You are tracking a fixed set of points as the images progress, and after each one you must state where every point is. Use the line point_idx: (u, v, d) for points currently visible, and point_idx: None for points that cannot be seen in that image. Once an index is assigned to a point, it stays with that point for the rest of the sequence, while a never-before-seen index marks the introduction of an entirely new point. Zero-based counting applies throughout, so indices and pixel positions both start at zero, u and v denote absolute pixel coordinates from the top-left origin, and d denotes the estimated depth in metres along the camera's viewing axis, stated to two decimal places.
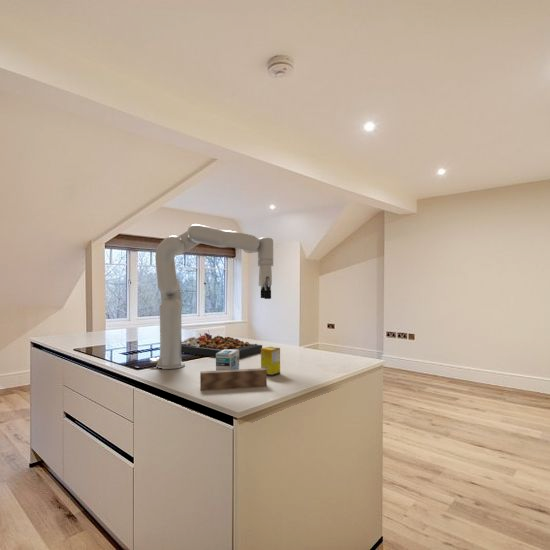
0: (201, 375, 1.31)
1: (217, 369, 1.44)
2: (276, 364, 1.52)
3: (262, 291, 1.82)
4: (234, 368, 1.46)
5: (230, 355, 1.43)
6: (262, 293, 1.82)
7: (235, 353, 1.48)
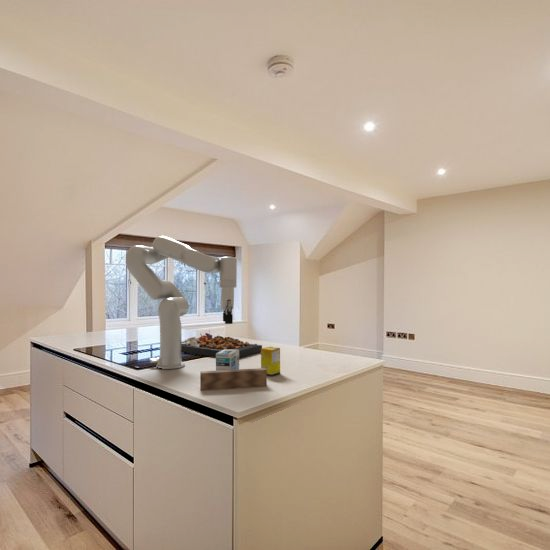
0: (201, 375, 1.31)
1: (217, 369, 1.44)
2: (276, 364, 1.52)
3: (224, 314, 1.68)
4: (234, 368, 1.46)
5: (230, 355, 1.43)
6: (224, 316, 1.68)
7: (235, 353, 1.48)
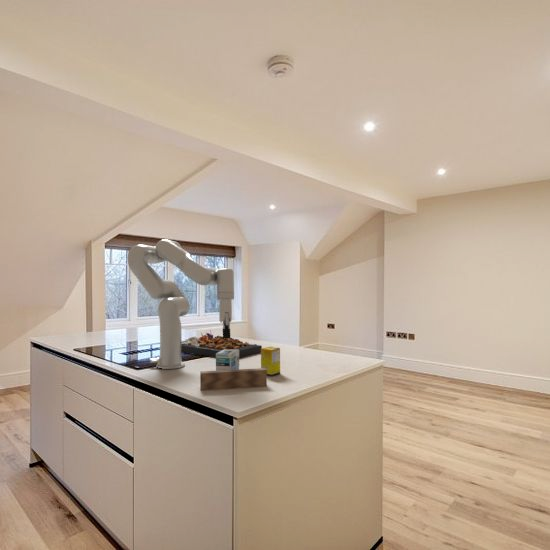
0: (201, 375, 1.31)
1: (217, 369, 1.44)
2: (276, 364, 1.52)
3: None
4: (234, 368, 1.46)
5: (230, 355, 1.43)
6: None
7: (235, 353, 1.48)
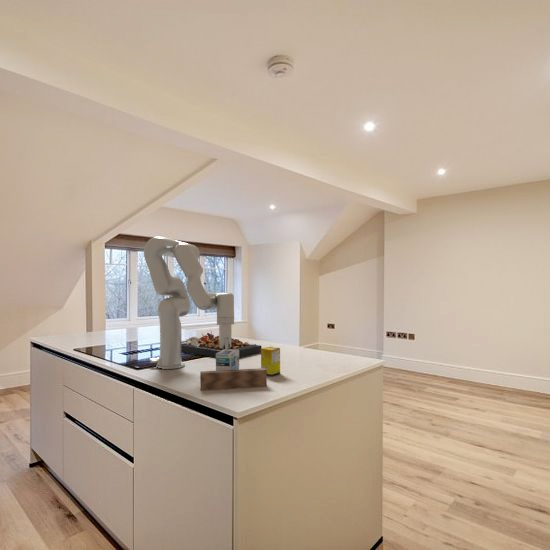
0: (201, 375, 1.31)
1: (217, 369, 1.44)
2: (276, 364, 1.52)
3: None
4: (234, 368, 1.46)
5: (230, 355, 1.43)
6: None
7: (235, 353, 1.48)
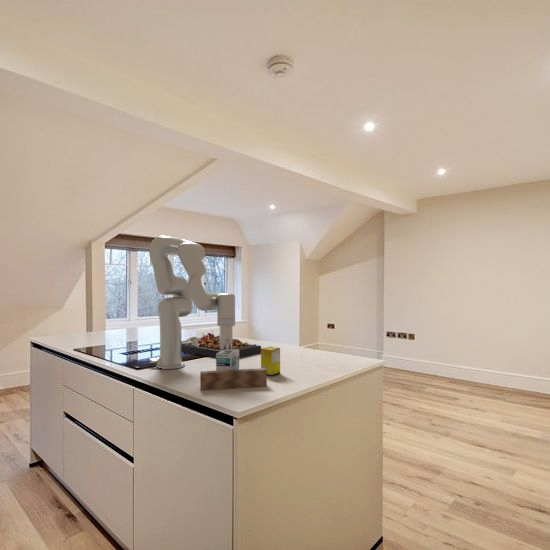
0: (201, 375, 1.31)
1: (217, 369, 1.43)
2: (276, 364, 1.52)
3: None
4: (234, 368, 1.45)
5: (230, 355, 1.42)
6: None
7: (235, 353, 1.47)
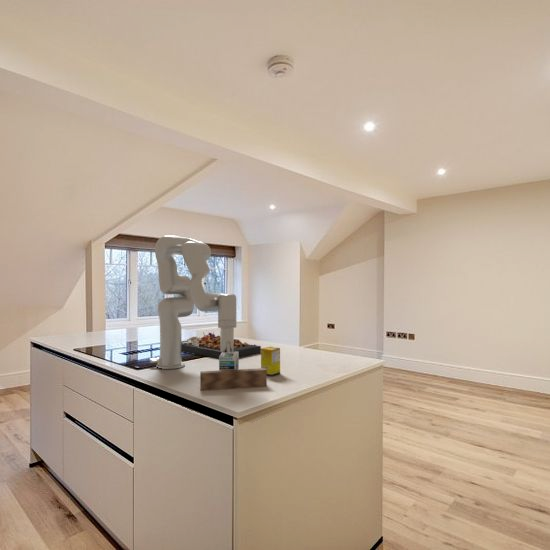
0: (201, 375, 1.31)
1: None
2: (276, 364, 1.52)
3: None
4: None
5: (235, 358, 1.37)
6: None
7: (237, 355, 1.43)
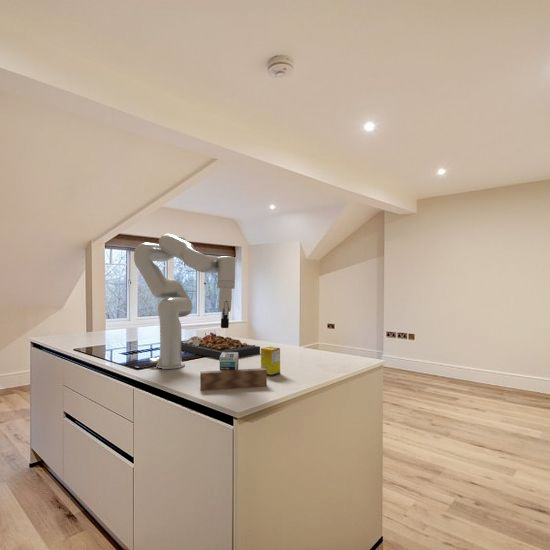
0: (201, 375, 1.31)
1: None
2: (276, 364, 1.52)
3: None
4: None
5: (235, 358, 1.37)
6: None
7: (237, 356, 1.42)
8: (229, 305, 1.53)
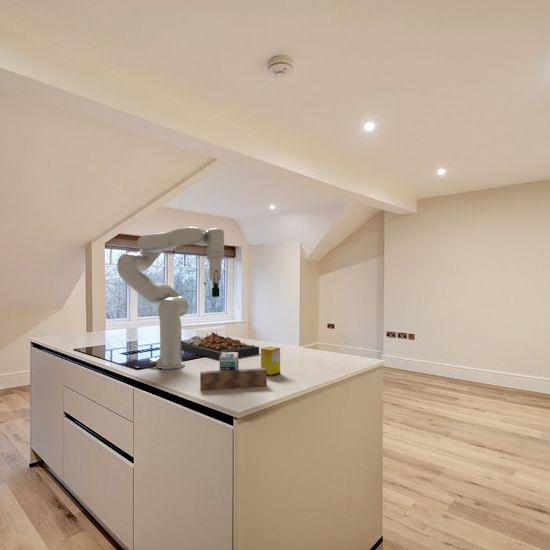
0: (201, 375, 1.31)
1: None
2: (276, 364, 1.52)
3: None
4: None
5: (235, 358, 1.37)
6: None
7: (237, 356, 1.42)
8: (219, 274, 1.61)
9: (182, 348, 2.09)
